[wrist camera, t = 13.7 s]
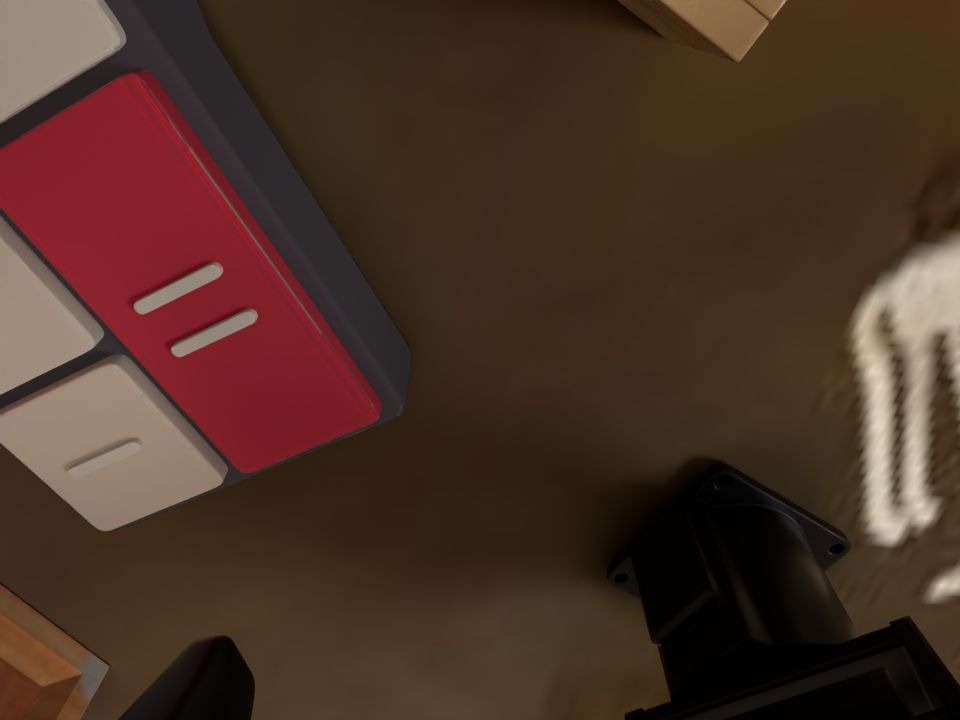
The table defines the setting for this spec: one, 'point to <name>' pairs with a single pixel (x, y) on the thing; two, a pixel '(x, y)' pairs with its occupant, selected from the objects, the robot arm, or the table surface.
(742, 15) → the crate
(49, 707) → the wooden box
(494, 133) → the table surface
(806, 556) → the robot arm
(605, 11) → the table surface
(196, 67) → the calculator
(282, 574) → the table surface
